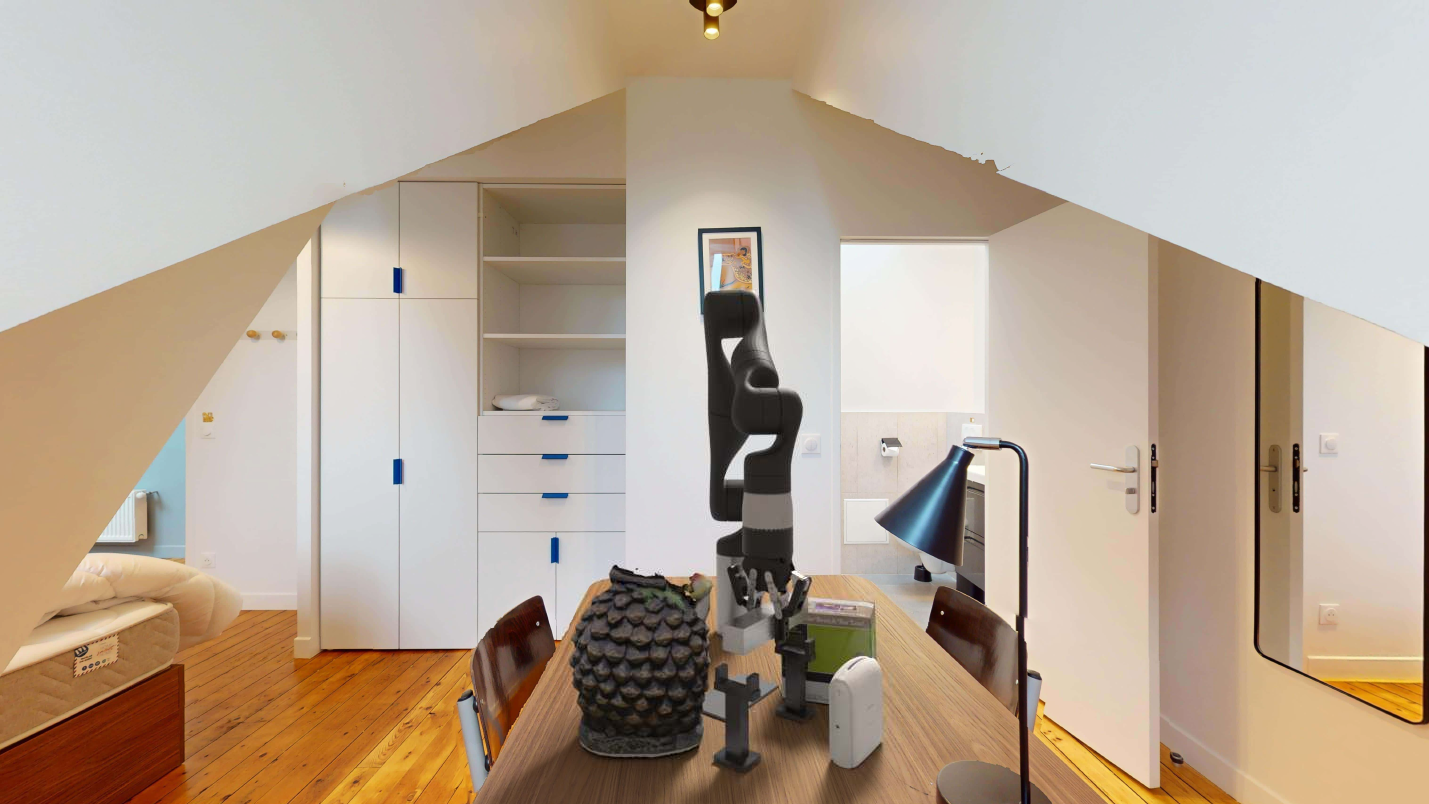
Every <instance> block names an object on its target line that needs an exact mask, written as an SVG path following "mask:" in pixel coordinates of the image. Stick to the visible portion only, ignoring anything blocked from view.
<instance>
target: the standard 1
mask: <svg viewBox="0 0 1429 804" xmlns="http://www.w3.org/2000/svg"><path fill="white" fill-rule="evenodd" d="M748 675H749V676H748V677H746V684H743V683H739V682H736V681H733V680H730V679H731V678H730V679H729V664H728V663H725V662H722V663H721V664H719V665H716V666H715V667H714V681H713V689H714V690H717V691H720V692H723V693H725V721H724V724H725V725H724V728H725V729H724V731H725V734H724V737H725V739H724V740H725V741H724V742H725V743H724V744H725V746H724V747H722V748H720V750H718V751H717V752H716V753H714V754H713V762H715V763H717V764H719V765H721V766H724V767H726V768H728V769H731V770H733V771H735V772H737V773H740V774H742V775H745V774H746V773H747V772H749V771H750V770H751V769H752V768H754V767H755V766H756V765H757V764H759V762H760V761H761V760H762V756H761V755H762V754H761V753H759V752H756V751H753V750H751V749H750V730H749V729H750V728H749V727H750V721H749V720H750V717H749V716H750V714H749V712H750V710H749V709H750V707H749V702H752V703H753V702H754V701H756V700H757V699H758V698H760V697H761V689H759V679H760V673H758V672H753V673H751V674H748Z"/></svg>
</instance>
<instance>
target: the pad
mask: <svg viewBox="0 0 1429 804" xmlns="http://www.w3.org/2000/svg"><path fill="white" fill-rule="evenodd" d="M749 675H750V674H747V673H742V672H740V673H738V674H736V675H735V676H733V677H732V678H730V680H733V681H736V682H739V683H743V684H746V677H748V676H749ZM777 687H778V688H779V687H780V685H779V684H778V683H775V682H772V681H769V680H765V679H763V678H759V689H761V697H760V698H758V699H757V700H756V701H754V702H753V703H752V702H749V708H750V707H752V706H753V705H755V704H757V703H758V702H759V701H761V700H762V699H764V698H765V697H766V696H768V695H770V694H771V693H773V692H774V691H776V690H777V689H778V688H777ZM776 688H777V689H776ZM701 714H705V715H708V716H710V717H714V718H716V719H718V720H720V721H724V722H725V693H723V692H720V691H717V690H714V688H713V689H711V690H709V691H707V692H705V701H704V702H703V711H702V712H701Z"/></svg>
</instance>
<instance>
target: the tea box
mask: <svg viewBox="0 0 1429 804" xmlns="http://www.w3.org/2000/svg"><path fill="white" fill-rule="evenodd" d="M876 623H877V622H876V603H875V601H869V600H855V599H844V598H831V597H815V596H808V619H806V620H805V621H803V622H801V623H799V624H798V625H796V626H794V627H793V628H791V629H789V637H788V639H786V644H787V645H791V646H795V647H799V648H803V649H804V641H806V640H808V639H809V638H814V639H815V652H816V659H815V660H814V661H812V662H811V663H809V662H806V661H805V670H806V702H812V703H819V704H820V703H821V704H827V705H829V685H830V682H831V680H832V678H833V677H834V675H835V674H836V672H837V671H838V670H839V669H840V668H841V667H842V666H843V665H844V664H845V663H847V662H848V661H850V660H851V659H853V658H856V657H860V656H867V657H869V658H873V659H875V660H876V661H877V662H878V657H877V654H878V653H877V627H876V625H877V624H876ZM780 659H781V660H780V662H781V665H780V666H781V667H780V668H781V671H780V672H781V673H780V674H781V693H782V698H784V699H785V656H784V655H780Z"/></svg>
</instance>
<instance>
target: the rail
mask: <svg viewBox="0 0 1429 804" xmlns="http://www.w3.org/2000/svg"><path fill="white" fill-rule="evenodd" d="M792 593H793V592H790V591H789V601H790V598H791V595H792ZM808 597H809V596H808V595H807V596H806V599H805V602H804V605H803V607H802V610H801V612H800V613H798V614H796V615H794V616H793V617H789V629H791V628H793V627H794V626H796V625H798V624H799V623H801V622H803V621H805V620H806V619H808ZM775 618H776V616H775V612H774V606H773V603H771V601H770V600H769V601H768V602H765V603H764V604H763V603H762V605H761V606H759V607H757V608H755V609H753V610H751V611H749V612H746V613H744V614H742V615H740V616H738V617H736V618H734V619H732V620H730V621H728V622H726V623H724V624H723V637H722V650H723V651H725V652H729V653H732V654H736V655H740V656H743V657H745V656H746V655H748V654H750V653H752V652H753V651H755V650H757V649H758V648H760V647H762V646H763V645H765V644H767V643H768V642H770V641H772V640H773V639H774V640H775Z"/></svg>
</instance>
